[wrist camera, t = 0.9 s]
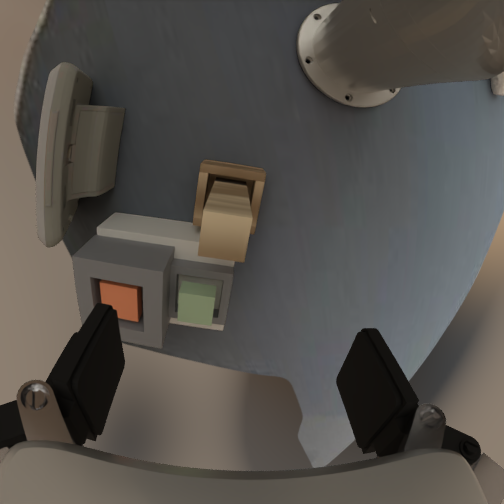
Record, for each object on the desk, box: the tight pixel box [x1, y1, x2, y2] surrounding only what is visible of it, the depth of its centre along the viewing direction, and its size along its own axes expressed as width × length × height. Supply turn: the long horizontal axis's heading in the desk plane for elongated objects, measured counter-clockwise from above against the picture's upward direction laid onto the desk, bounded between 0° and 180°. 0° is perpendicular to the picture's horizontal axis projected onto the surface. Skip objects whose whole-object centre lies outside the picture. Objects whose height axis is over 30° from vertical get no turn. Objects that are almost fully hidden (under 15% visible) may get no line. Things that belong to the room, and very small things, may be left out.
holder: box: [193, 159, 266, 234], centre depth 28 cm, size 6×6×4 cm
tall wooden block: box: [198, 177, 253, 262], centre depth 23 cm, size 3×3×12 cm
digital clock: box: [36, 62, 125, 247], centre depth 22 cm, size 16×9×11 cm, turn 156°
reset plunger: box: [100, 279, 142, 322], centre depth 24 cm, size 4×4×2 cm
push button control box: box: [72, 212, 235, 349], centre depth 28 cm, size 10×14×10 cm
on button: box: [177, 281, 216, 326], centre depth 26 cm, size 3×3×2 cm
